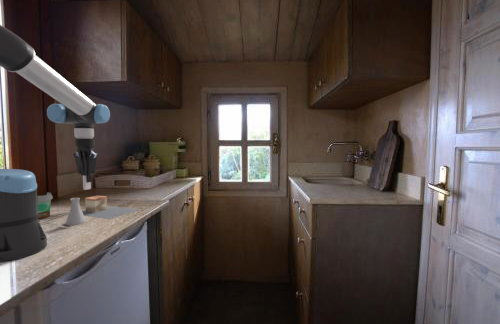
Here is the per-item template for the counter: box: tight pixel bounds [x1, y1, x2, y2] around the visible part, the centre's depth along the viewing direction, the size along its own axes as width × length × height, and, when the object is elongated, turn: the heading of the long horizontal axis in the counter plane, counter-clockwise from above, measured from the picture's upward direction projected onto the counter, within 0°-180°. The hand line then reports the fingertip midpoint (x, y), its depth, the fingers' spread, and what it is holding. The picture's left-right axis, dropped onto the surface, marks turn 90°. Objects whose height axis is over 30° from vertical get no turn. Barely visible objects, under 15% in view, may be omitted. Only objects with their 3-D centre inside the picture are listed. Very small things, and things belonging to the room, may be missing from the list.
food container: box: [37, 191, 54, 221], centre depth 103 cm, size 12×6×10 cm, turn 168°
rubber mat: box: [82, 205, 139, 220], centre depth 114 cm, size 16×22×1 cm
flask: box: [65, 197, 87, 227], centre depth 98 cm, size 7×7×10 cm
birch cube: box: [84, 195, 108, 213], centre depth 116 cm, size 6×6×6 cm
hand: (87, 189), depth 118 cm, fingers closed
